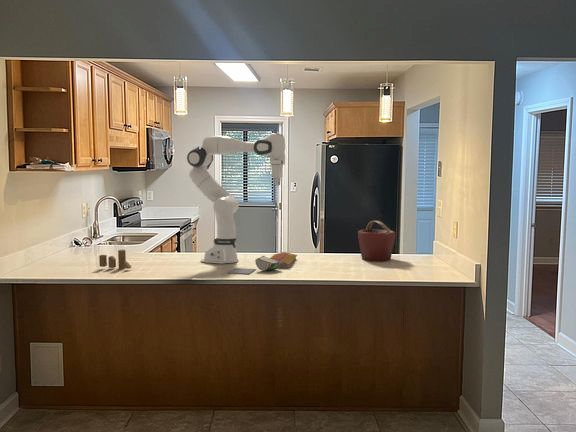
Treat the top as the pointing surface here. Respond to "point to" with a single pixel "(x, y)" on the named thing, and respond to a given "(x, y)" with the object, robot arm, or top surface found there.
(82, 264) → the top surface
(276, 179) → the robot arm
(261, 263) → the food container
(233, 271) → the mat
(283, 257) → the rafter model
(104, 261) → the wooden block set
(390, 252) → the bucket
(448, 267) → the top surface
